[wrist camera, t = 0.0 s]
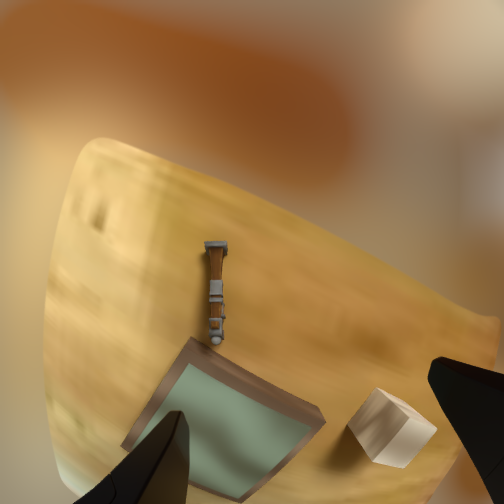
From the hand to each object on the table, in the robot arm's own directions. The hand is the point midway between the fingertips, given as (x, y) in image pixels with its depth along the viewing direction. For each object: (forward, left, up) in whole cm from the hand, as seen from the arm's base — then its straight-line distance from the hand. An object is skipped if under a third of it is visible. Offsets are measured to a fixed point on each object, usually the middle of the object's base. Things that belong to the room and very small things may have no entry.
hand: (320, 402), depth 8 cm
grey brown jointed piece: (0, +5, -16) cm, 17 cm away
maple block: (-3, -16, -16) cm, 23 cm away
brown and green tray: (-12, -2, -15) cm, 20 cm away
